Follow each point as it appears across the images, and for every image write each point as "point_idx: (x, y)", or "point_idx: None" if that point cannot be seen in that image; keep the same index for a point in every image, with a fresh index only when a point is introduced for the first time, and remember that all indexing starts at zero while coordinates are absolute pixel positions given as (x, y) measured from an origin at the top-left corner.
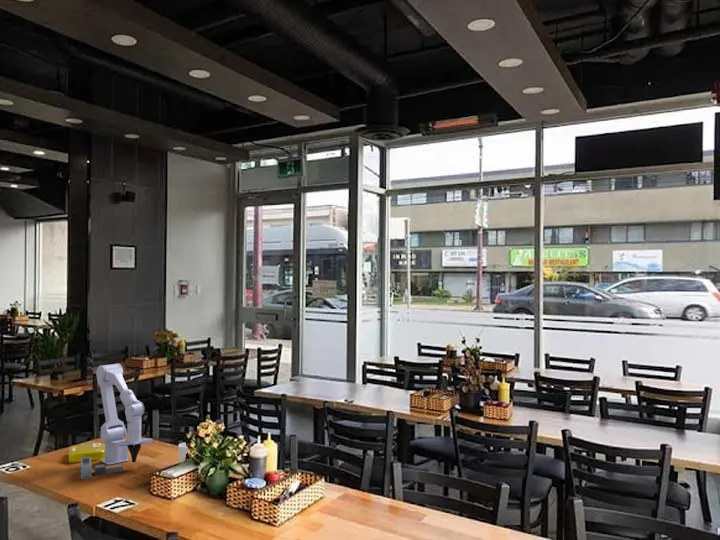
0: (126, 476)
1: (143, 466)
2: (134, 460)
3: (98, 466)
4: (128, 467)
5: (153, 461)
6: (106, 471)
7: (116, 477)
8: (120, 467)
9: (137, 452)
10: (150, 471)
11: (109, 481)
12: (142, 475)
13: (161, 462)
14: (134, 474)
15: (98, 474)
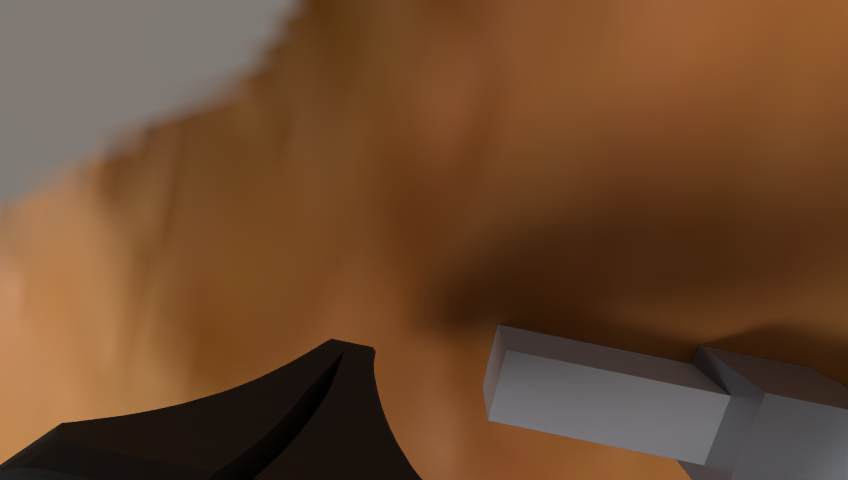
0: (528, 96)
1: (248, 349)
2: (340, 349)
3: (835, 469)
4: (402, 411)
5: None
6: (691, 371)
7: (645, 132)
8: (535, 351)
9: (227, 400)
10: (217, 116)
11: (783, 17)
12: (343, 11)
13: (41, 368)
14: (419, 116)
15: (778, 361)
